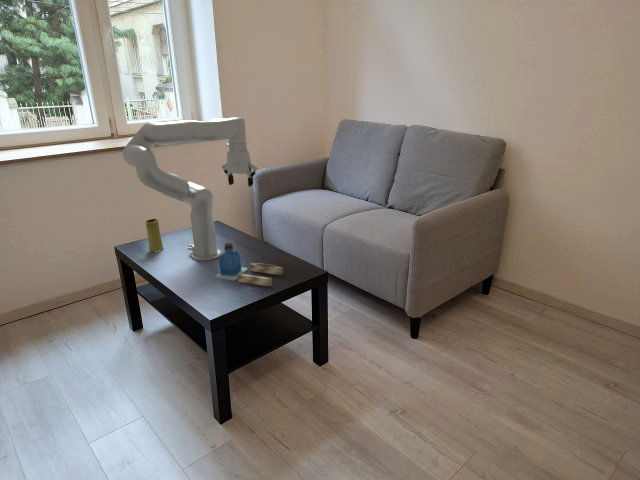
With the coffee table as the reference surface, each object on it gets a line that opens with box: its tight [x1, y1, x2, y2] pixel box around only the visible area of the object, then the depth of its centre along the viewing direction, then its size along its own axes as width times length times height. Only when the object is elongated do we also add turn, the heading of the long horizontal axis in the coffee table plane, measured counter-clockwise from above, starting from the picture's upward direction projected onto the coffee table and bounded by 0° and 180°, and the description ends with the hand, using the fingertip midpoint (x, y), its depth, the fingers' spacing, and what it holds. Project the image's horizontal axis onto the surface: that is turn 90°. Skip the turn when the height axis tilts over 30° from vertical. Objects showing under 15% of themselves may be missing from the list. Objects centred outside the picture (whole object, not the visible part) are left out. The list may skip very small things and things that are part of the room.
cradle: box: [237, 262, 284, 287], centre depth 174 cm, size 14×11×4 cm
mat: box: [214, 266, 249, 282], centre depth 179 cm, size 9×11×1 cm
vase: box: [145, 218, 164, 252], centre depth 201 cm, size 6×6×14 cm
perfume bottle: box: [218, 242, 242, 276], centre depth 176 cm, size 6×6×12 cm
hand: (241, 185), depth 199 cm, fingers open, 9 cm apart
